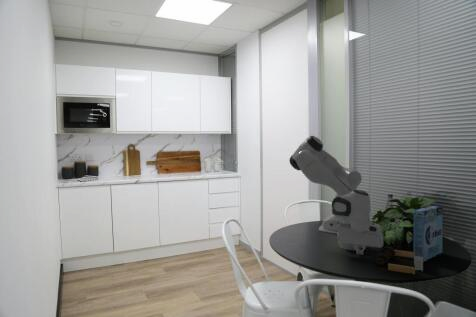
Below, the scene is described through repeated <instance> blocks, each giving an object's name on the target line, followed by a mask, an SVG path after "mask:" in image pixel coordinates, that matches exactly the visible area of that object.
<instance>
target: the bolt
mask: <svg viewBox="0 0 476 317" xmlns="http://www.w3.org/2000/svg"><path fill="white" fill-rule="evenodd" d="M394 250H395V249H394V248H393V247H391V246H385V247H383V249H382V251H381V253H379V254H378V255H377V257H376V264H377V265H379V266H383V265H388V264H387V263H389V261H390V259H393V258H394V257H395V256H394V255H395V254H396V253H395V251H394Z"/></svg>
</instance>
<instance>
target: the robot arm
mask: <svg viewBox="0 0 476 317" xmlns="http://www.w3.org/2000/svg"><path fill="white" fill-rule="evenodd" d="M323 148H324V143H323V142H322V140H321V139H320V138H319V137H317V136H315V135H310V136H308V137H307V138H306V139H304V141H303V142H302V143H300V145H299V146H298V147H297V148H296V150H295V151H294V152H293V154H292V155H291V156H290V158H289V165H290V166H291V167H292V168H293V169H295V170H296V171H301V172H302V174H303V175H304V176H305V177H306V179H307V180H309V181H310V182H311V183H314V184H318V185H323V186H326V187H329V188H330V189H332V190H333V191H334V192H335V193H336V194H335V197H334V198H333V199H332V202H331V214H329V215H327V216H326V217H325V218H324V219H323V221H322V224H321V225H320V226H319V227H318V232H319V231H320V232H323V233H330V234H336V235H337V233H338V236H337V242H339V243H347V244H354V248H355V249H356V250H355V251H356V255H364V251H365V250H366V248H367V247H372V248H377V249H378V248H379V249H382V247H383V248H384V234H383V232H382V231H381V225H380V224H378V223H375V222H373V221H371V217H370V212H371V197H370V195H369V193H368V192H366V191H365V190H359V189H358V187H359V185H360V184H361V183H362V175H361V173H360V172H358V171H357V170H356V169H353V168H347V167H344V166H343V165H341V164H340V163H339V161H338V160H337V158H336V157H335V156H332V154H330V153H329V152H327V151H326V150H324V149H323ZM358 245H362V248H361V249H360V250H358V248H357V246H358Z"/></svg>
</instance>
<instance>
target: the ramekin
mask: <svg viewBox="0 0 476 317" xmlns="http://www.w3.org/2000/svg"><path fill="white" fill-rule="evenodd" d="M336 236H337V237H338V233H337V234H336ZM337 242H338V241H337ZM338 246H339V248H341V249H343V250H346V251H356V249H355V248H354V244H347V243H339V242H338ZM357 248H358V250H362V249H363V248H362V245H358V246H357Z"/></svg>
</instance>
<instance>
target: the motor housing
mask: <svg viewBox="0 0 476 317" xmlns="http://www.w3.org/2000/svg"><path fill="white" fill-rule="evenodd" d="M394 251H395V253H396V254H395V255H394V256H393V257H402V258H408V259H409V258H410V259H413V251H414V259H413V265H414V266H415V267H414V266H407V265H402V264H396V263H395V264H394V263H389V262H387V263H388V264H387V270H388V271H391V272H399V273H406V274H410V273H412V274H411V275H416V271H418V270H421V271H420V272H424V262H423V252H422V248H420V247H414V246H413V251H407V250H399V249H398V250H397V249H394Z"/></svg>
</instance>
